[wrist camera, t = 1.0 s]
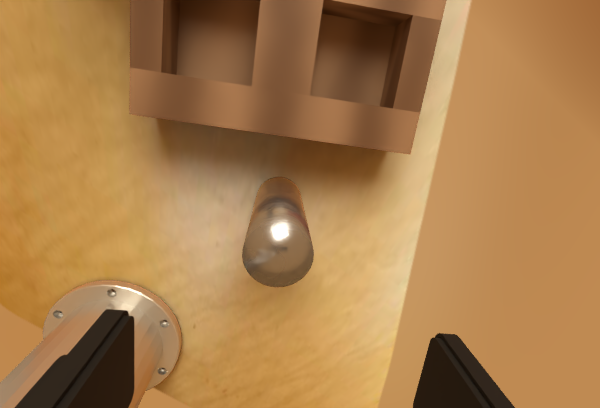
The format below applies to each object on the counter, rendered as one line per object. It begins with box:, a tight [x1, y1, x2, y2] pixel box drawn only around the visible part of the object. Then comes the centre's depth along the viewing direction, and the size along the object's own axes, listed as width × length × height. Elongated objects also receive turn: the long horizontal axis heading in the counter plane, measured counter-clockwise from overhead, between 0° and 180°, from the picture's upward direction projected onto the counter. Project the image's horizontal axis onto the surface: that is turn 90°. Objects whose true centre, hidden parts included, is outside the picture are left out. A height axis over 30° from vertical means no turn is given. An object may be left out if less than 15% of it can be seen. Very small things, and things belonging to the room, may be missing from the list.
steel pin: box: [242, 177, 314, 287], centre depth 25 cm, size 4×4×12 cm
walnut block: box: [130, 0, 446, 154], centre depth 25 cm, size 20×12×5 cm, turn 82°
